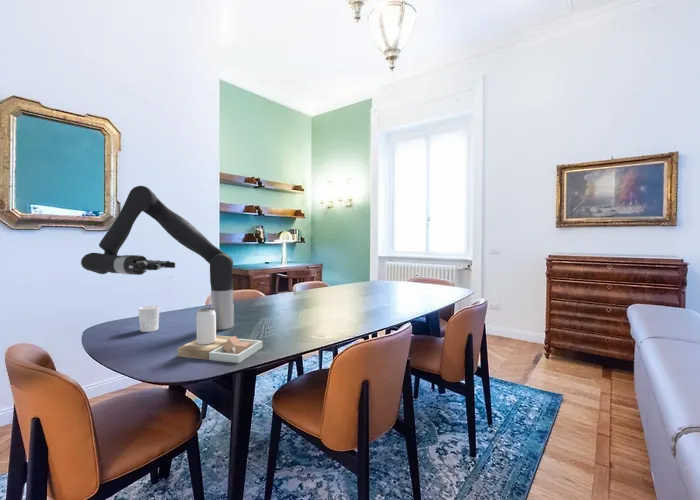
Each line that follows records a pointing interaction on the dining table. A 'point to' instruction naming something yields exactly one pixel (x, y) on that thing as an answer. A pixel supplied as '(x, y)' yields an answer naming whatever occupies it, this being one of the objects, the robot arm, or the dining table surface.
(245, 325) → the dining table surface
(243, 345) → the tile
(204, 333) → the can
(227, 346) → the tile
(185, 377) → the dining table surface
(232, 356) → the tray
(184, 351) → the board
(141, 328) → the white cup
